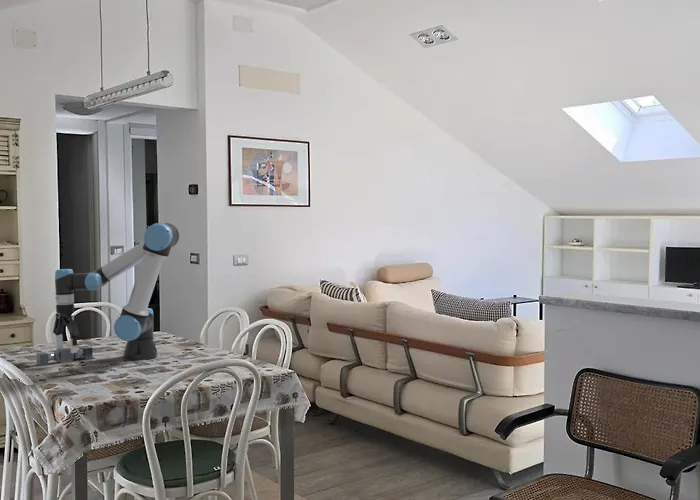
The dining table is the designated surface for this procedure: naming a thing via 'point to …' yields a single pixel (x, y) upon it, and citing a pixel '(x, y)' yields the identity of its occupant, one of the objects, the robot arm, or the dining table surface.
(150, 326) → the robot arm
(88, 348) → the shaft
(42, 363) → the shaft
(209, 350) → the dining table surface
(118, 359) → the dining table surface
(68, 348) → the block
